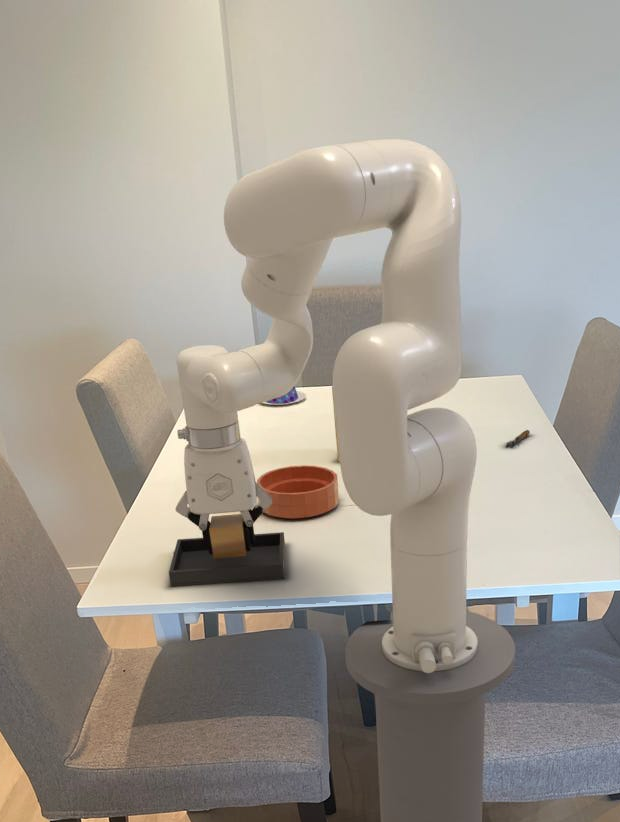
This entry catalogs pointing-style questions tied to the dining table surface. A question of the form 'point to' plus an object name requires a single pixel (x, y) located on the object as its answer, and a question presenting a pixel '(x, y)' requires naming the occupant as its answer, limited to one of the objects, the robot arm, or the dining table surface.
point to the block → (227, 536)
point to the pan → (228, 562)
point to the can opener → (519, 438)
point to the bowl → (300, 491)
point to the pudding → (287, 398)
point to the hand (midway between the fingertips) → (230, 548)
